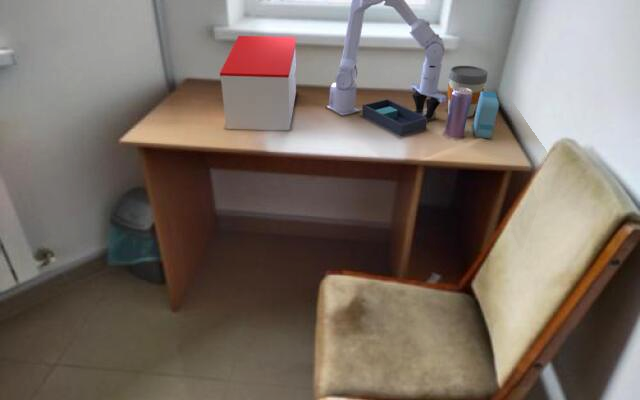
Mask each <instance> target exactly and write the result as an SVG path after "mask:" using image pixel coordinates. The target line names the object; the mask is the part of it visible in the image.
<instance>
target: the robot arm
mask: <svg viewBox="0 0 640 400" xmlns="http://www.w3.org/2000/svg"><path fill="white" fill-rule="evenodd" d="M383 2H384V4H383V6H386V7H391V8H393V9H394V10H395V11H396V12H397V14H398V15H399V16H400V17H401V18H402V19H403V20H404V21H405V23H406V24H407V25H408V26H409V30H408V32H409V34H410V35H411V36H412V38H413V39H414V41H415V42H416V43H417V44H418V45H419V46H420V48H421V49H424V54H425V59H424V61H423V64H422V72H421V77H420V84H418V83H412V84H410V90H409V91H415V92H414V93H412V96H411V97H412V99H413V101H414V105H415V111H416V110H420V109H424V108H425V104H426V108H427V113H426V117H427V118H428V119H430V118H432V116H433V114H434V112H435V111H436V110H437V108H438V107H439V106H440V104H444V103H446V102H447V98H448V95H445V94H443V93H442V92H440V91H439V82H440V76H441V70H442V62H443V57H444V56H445V53H446V52H445V43H444V40H443V39H442V37H440V35H439V34H438V33H436V32H435V31H434V30H433V28H432V27H431V22H430V21H429V20H427V21H426V20H425V18H418V17H417V15H416V13H414V11H413V10H412V8H411V7H410V6H409V5H408V2H406V0H351V2H350V7H349V13H348V19H347V26H346V31H345V32H346V33H345V39H344V44H343V52H342V57H341V61H340V64H339V69H338V71H337V73H336V74H335V77H334V83H332V84H331V86H330V88H329V100H328V101H329V102H328V103H329V104H328V105H327V108H328V109H331V110H332V111H334V112H335V113H337V114H339V115H341V116H345V115H349V114H353V113H358V112H360V111H361V110H360V109H359V108H356V96H357V84H356V82H355V80H356V78H357V76H358V68H357V64H358V63H357V62H358V53H359V47H360V42H361V35H362V29H363V24H364V20H365V14H366V13H365V12H366V10H368V9H369V8H370V7H372V6H376V5H379V4H382V3H383ZM428 97H429V98H428ZM427 98H428V99H427ZM430 120H431V119H430Z"/></svg>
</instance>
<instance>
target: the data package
mask: <svg viewBox="0 0 640 400" xmlns="http://www.w3.org/2000/svg"><path fill="white" fill-rule="evenodd" d="M499 107H500V102H499V99H498V95H497V92H494V91H485V90H483V91H481V93H480V97H479V101H478V103H477V106H476V109H475V113H474V114H475V115H474V119H473V130H474V134H475V137H476V138H481V139H491V138H492V135H493V130H494V127H495V124H496V119H497V117H498V116H497V115H498V112H499V109H500V108H499Z"/></svg>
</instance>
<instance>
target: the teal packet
mask: <svg viewBox="0 0 640 400" xmlns="http://www.w3.org/2000/svg"><path fill="white" fill-rule="evenodd" d="M375 111H377V112H379V113H381V114H383V115H385V116H387V117H389V118H391V119H395V118H397V115H398V110H397V109H394V108H392V107H390V106H389V107H385V108H381V109H378V110H375Z"/></svg>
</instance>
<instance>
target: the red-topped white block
mask: <svg viewBox="0 0 640 400" xmlns="http://www.w3.org/2000/svg"><path fill="white" fill-rule="evenodd" d="M296 39H297V38H296V36H263V35H261V36H260V35H257V36H256V35H238V36H237V38H236V39H235V41H234V44H233V46H232V48H231V50H230V52H229V54H228V56H227V58H226V60H225V62H224V64H223V66H222V67H221V70H220V71H219V77H220V83H221V93H222V94H221V95H222V102H223V103H222V104H223V112H224V113H223V114H224V121H225V129H226V130H257V131H258V130H259V131H260V130H261V131H263V130H264V131H290V129H291V124H292V118H293V112H294V108H295V107H294V106H295V100H296V95H297V66H296V64H297V61H296V59H297V58H296V57H297V55H296V53H297V51H296V47H297V45H296V43H297V41H296Z"/></svg>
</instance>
